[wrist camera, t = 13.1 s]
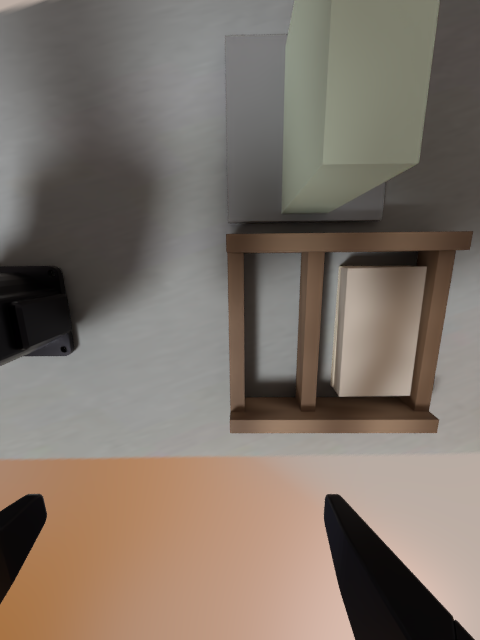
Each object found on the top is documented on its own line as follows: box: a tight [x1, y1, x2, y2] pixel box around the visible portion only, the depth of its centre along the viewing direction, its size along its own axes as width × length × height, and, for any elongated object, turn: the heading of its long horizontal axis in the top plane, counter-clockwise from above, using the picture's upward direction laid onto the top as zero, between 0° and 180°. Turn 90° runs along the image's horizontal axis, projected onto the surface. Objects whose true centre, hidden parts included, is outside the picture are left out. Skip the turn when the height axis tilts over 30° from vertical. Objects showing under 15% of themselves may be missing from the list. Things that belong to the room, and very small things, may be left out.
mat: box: [225, 34, 386, 223], centre depth 16 cm, size 10×10×1 cm
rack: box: [226, 231, 473, 433], centre depth 18 cm, size 14×13×3 cm
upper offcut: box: [334, 266, 427, 397], centre depth 18 cm, size 5×9×1 cm, turn 1°
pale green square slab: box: [281, 0, 440, 214], centre depth 12 cm, size 3×9×9 cm, turn 1°
